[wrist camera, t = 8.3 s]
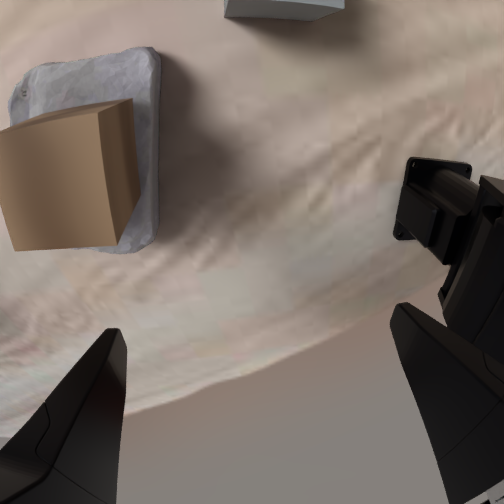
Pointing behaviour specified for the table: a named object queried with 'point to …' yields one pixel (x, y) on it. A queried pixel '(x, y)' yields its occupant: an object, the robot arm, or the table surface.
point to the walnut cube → (70, 177)
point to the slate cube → (282, 8)
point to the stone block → (101, 90)
